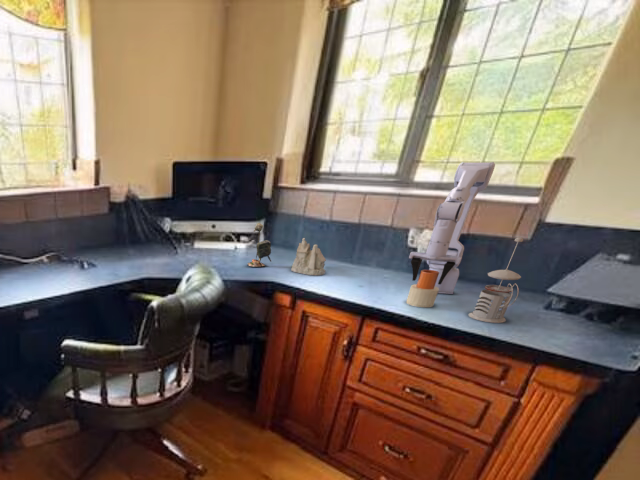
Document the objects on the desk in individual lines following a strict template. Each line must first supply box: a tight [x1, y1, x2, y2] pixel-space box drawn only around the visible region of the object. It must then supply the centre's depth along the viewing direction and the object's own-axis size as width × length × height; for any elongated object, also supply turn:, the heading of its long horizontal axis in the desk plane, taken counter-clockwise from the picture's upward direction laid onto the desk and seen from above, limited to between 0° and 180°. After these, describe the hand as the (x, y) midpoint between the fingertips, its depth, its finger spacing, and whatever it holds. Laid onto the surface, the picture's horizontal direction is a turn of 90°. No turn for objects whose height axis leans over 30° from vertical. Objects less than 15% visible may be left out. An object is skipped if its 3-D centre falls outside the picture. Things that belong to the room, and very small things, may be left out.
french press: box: [467, 236, 524, 324], centre depth 129 cm, size 10×12×25 cm
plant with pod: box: [247, 222, 272, 268], centre depth 198 cm, size 8×11×20 cm
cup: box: [416, 269, 439, 289], centre depth 145 cm, size 5×5×6 cm
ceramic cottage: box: [290, 237, 327, 276], centre depth 190 cm, size 16×16×15 cm
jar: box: [405, 283, 439, 308], centre depth 148 cm, size 8×8×6 cm
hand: (426, 281), depth 145 cm, fingers open, 7 cm apart
